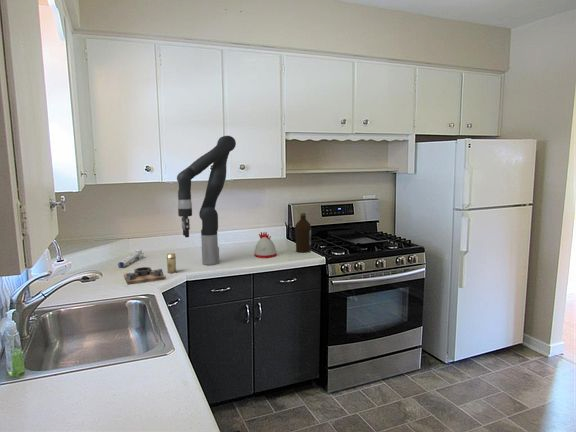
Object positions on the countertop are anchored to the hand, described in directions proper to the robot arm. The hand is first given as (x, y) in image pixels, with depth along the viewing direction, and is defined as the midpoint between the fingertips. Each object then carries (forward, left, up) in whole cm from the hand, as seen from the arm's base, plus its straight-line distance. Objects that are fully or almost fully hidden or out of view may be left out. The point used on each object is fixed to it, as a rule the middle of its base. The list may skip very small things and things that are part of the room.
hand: (186, 236), depth 232 cm
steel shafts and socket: (+25, +11, -16) cm, 32 cm away
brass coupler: (+10, +7, -18) cm, 22 cm away
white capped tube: (+26, -27, -18) cm, 42 cm away
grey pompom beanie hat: (-50, -2, -18) cm, 53 cm away
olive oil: (-76, 0, -18) cm, 78 cm away
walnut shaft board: (+25, +11, -18) cm, 33 cm away
